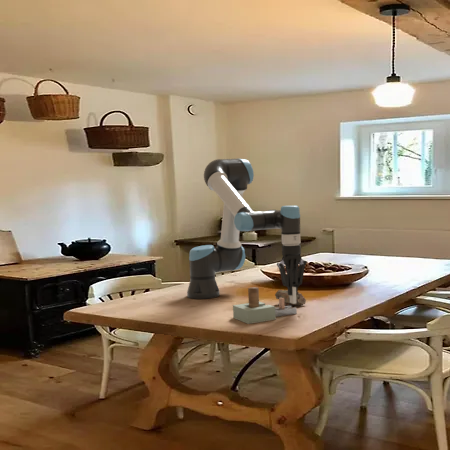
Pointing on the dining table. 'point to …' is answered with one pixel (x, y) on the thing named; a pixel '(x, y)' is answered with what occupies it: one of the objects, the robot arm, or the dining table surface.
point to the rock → (284, 294)
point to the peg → (253, 297)
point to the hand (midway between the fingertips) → (293, 303)
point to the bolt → (281, 304)
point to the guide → (286, 311)
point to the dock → (254, 313)
